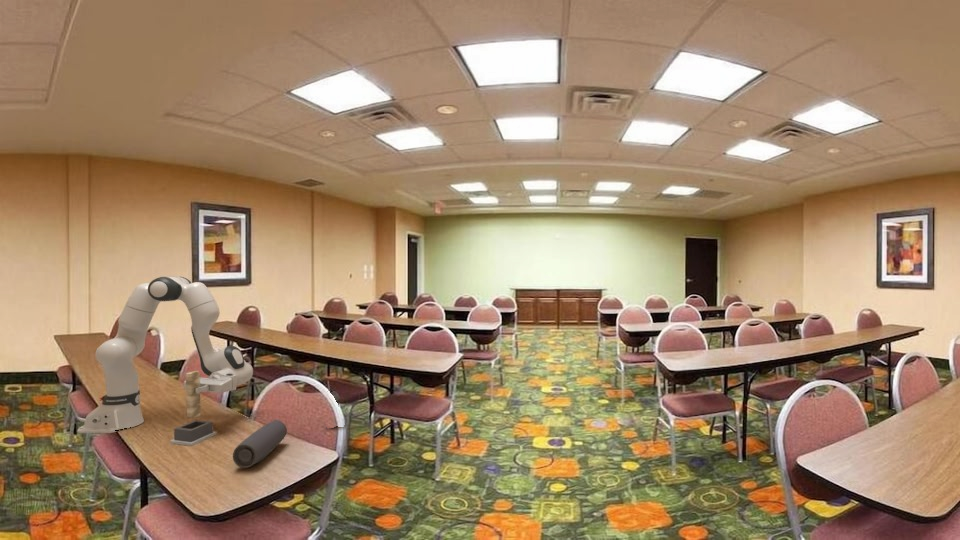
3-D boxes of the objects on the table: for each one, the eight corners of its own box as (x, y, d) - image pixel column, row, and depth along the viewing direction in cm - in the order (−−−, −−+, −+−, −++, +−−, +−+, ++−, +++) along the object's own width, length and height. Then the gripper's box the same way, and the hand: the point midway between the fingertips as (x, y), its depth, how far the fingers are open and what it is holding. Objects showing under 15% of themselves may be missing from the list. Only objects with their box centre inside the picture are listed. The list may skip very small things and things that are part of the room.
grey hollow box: (196, 431, 187) (196, 418, 187) (216, 434, 184) (216, 421, 184) (170, 443, 175) (169, 429, 175) (191, 446, 173) (190, 432, 173)
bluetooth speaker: (265, 443, 175) (264, 418, 175) (288, 443, 175) (288, 418, 174) (231, 471, 152) (230, 442, 152) (257, 471, 152) (257, 442, 152)
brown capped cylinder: (334, 430, 187) (333, 383, 187) (318, 429, 189) (318, 382, 188) (343, 424, 195) (342, 379, 194) (328, 423, 196) (327, 378, 195)
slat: (195, 414, 182) (194, 370, 181) (200, 414, 181) (199, 371, 181) (187, 417, 178) (185, 373, 178) (192, 418, 177) (190, 373, 177)
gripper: (200, 372, 194) (170, 381, 181) (238, 375, 189) (211, 384, 176) (200, 386, 195) (171, 396, 181) (239, 390, 189) (211, 400, 176)
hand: (191, 390), depth 178 cm, fingers closed on slat, 2 cm apart
